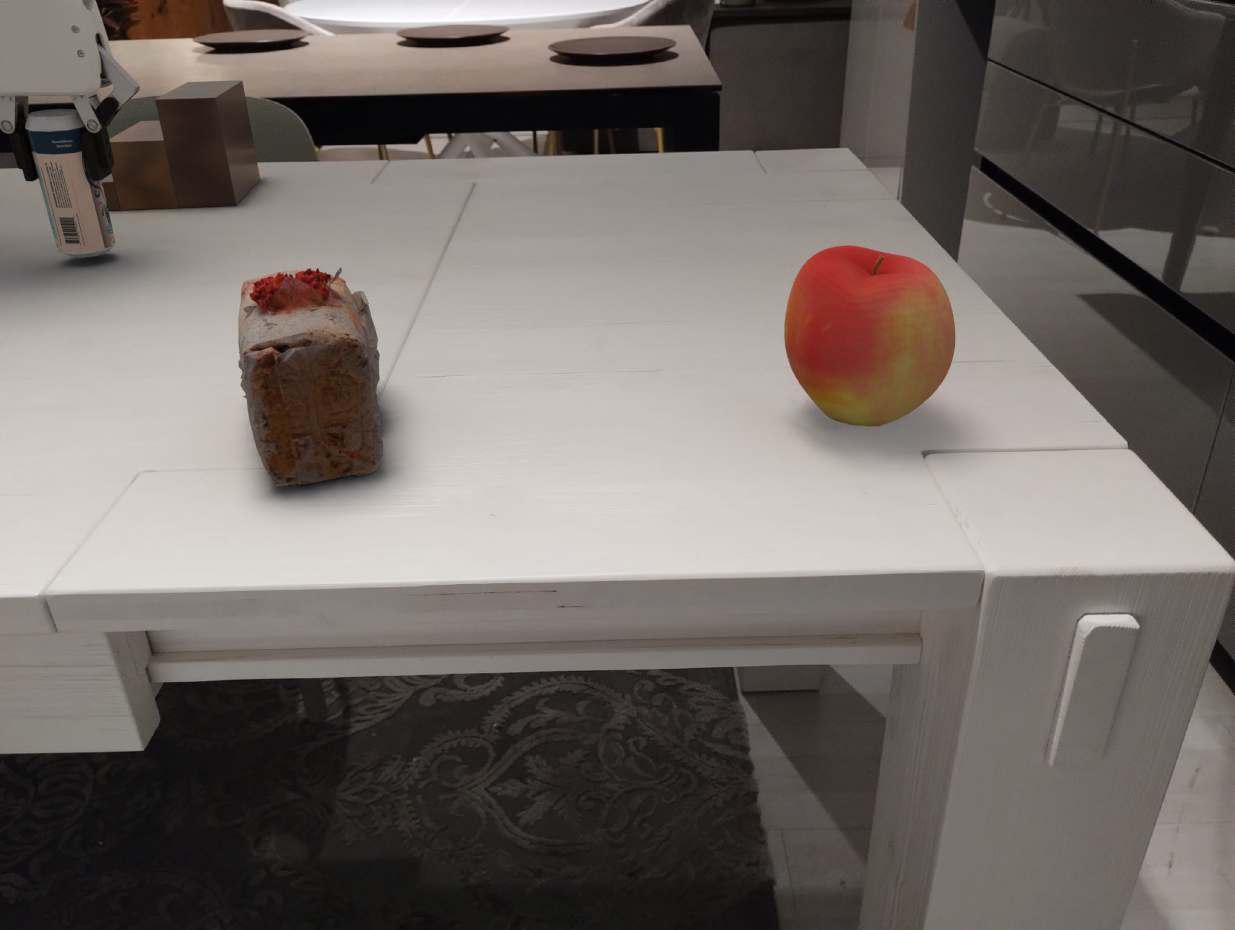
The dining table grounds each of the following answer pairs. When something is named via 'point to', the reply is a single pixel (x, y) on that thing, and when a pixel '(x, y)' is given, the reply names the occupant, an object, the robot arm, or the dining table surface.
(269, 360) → the food item
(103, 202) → the beer can
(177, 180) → the step shelf
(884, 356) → the apple
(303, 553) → the dining table surface
